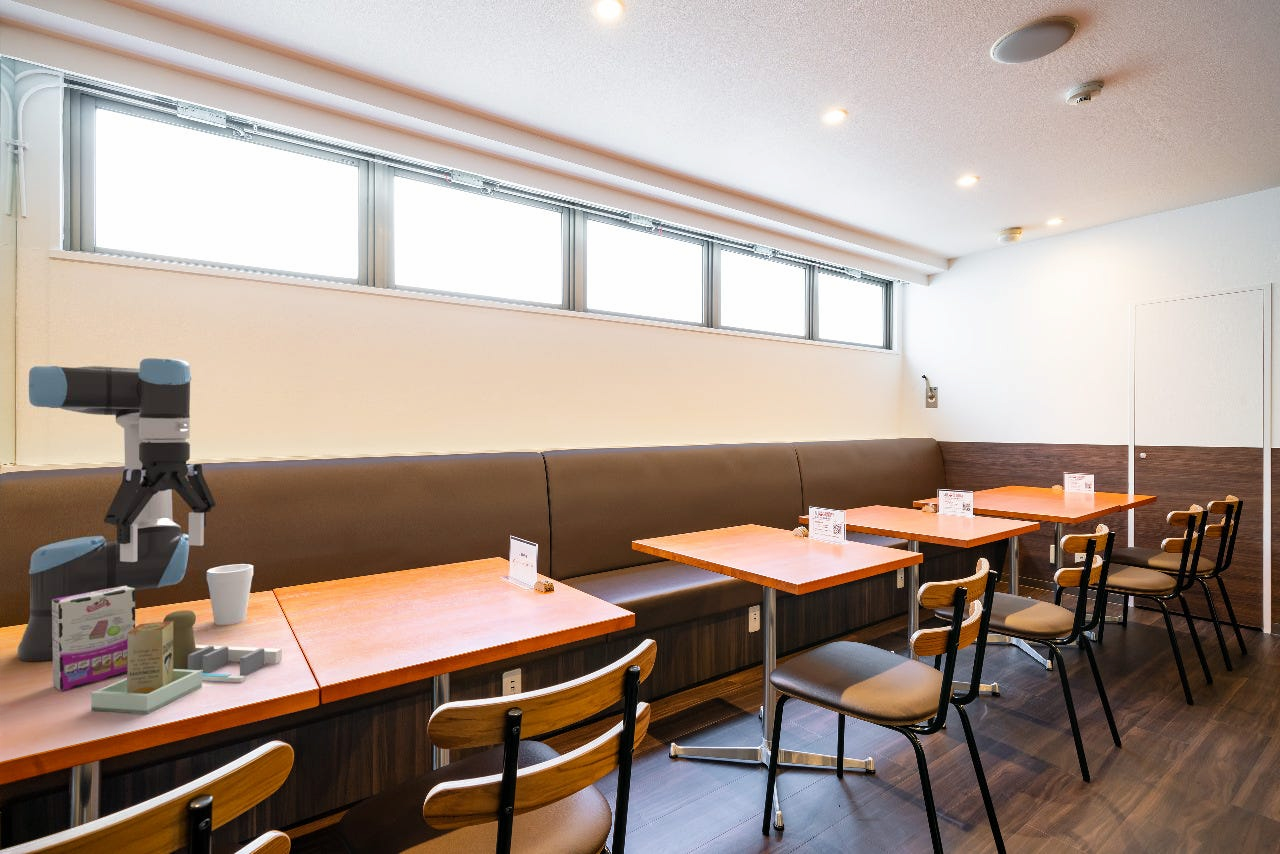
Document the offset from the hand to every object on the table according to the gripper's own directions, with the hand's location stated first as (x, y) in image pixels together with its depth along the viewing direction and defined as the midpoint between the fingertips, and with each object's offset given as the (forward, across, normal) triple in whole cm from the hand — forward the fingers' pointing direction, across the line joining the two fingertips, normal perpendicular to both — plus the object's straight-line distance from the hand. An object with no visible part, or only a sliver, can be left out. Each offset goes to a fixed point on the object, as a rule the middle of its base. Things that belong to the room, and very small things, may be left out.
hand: (164, 552), depth 112 cm
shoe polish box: (+23, -7, -5) cm, 25 cm away
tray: (+24, -8, -5) cm, 25 cm away
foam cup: (+25, +32, +16) cm, 44 cm away
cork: (+24, +5, +2) cm, 25 cm away
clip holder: (+24, +6, -4) cm, 25 cm away
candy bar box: (+25, -2, +13) cm, 28 cm away
